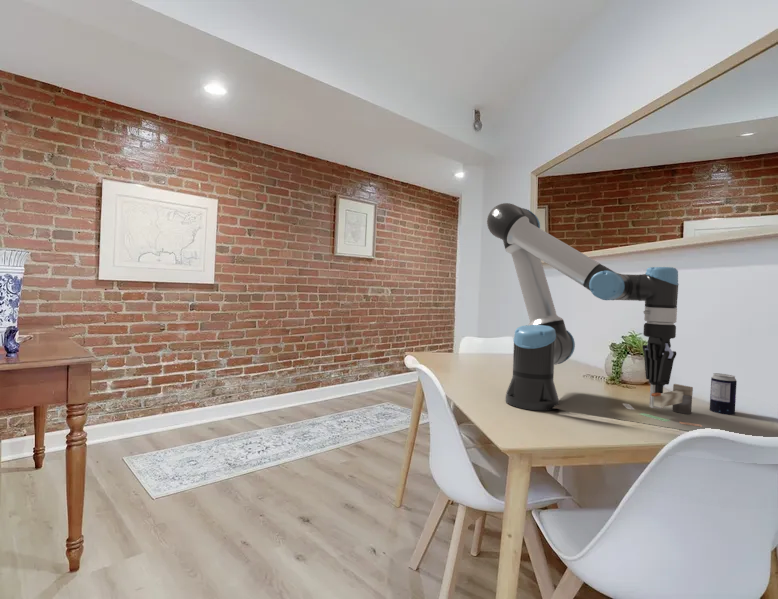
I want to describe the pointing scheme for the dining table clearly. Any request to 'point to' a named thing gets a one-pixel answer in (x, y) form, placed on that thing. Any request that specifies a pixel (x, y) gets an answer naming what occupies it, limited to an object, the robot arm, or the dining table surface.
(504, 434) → the dining table surface
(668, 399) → the peg lever
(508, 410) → the dining table surface
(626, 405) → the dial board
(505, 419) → the dining table surface
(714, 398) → the beverage can
